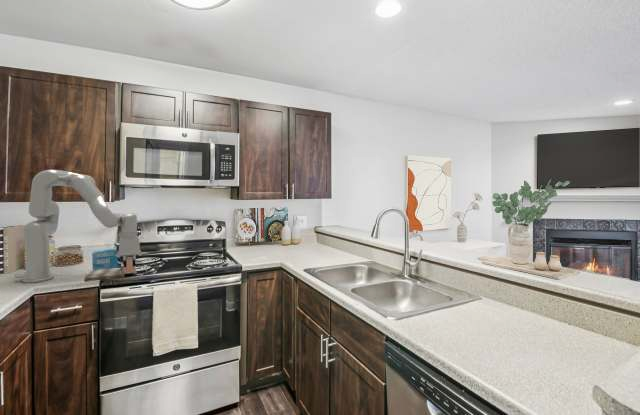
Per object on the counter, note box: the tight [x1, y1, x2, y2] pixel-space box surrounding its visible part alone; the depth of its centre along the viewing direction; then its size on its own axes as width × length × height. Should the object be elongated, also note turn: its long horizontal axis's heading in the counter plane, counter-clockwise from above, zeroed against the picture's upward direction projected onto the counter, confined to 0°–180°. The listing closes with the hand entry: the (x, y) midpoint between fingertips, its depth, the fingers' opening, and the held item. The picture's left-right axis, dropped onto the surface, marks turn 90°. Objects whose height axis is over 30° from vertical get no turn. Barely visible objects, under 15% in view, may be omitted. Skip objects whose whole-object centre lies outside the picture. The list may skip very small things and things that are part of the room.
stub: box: [122, 256, 137, 274], centre depth 178 cm, size 6×9×8 cm, turn 32°
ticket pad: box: [83, 267, 126, 282], centre depth 172 cm, size 18×10×4 cm, turn 122°
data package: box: [91, 248, 119, 270], centre depth 188 cm, size 12×4×12 cm, turn 143°
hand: (129, 266), depth 178 cm, fingers closed on stub, 3 cm apart
